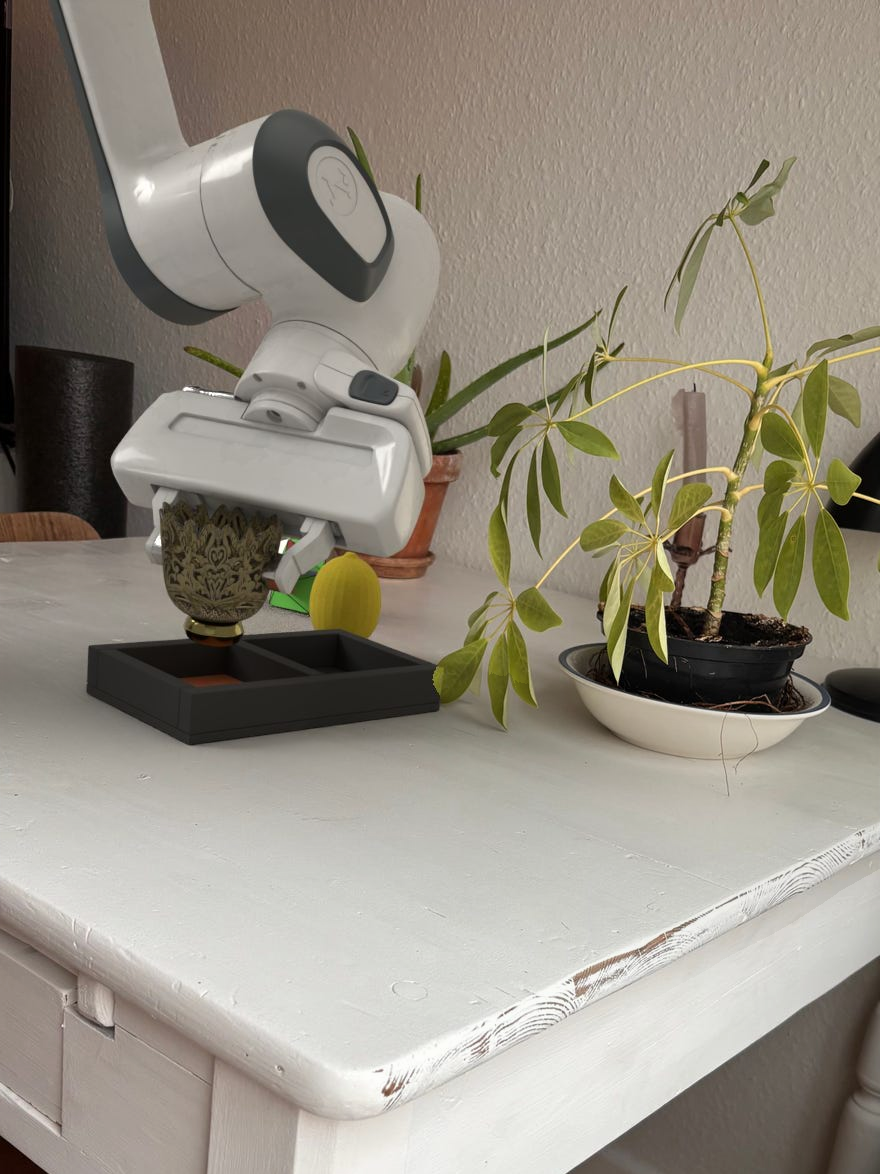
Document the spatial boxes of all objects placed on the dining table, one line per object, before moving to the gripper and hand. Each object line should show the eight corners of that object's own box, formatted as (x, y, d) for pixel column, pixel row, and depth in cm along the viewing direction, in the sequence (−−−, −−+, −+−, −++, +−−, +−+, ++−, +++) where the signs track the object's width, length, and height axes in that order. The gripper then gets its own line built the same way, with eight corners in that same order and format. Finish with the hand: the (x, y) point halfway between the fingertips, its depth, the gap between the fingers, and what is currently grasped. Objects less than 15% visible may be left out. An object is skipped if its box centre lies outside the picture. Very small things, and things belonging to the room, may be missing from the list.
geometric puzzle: (293, 570, 120) (272, 503, 113) (359, 585, 118) (342, 517, 111) (257, 624, 116) (234, 558, 109) (325, 640, 114) (305, 574, 107)
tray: (85, 692, 82) (87, 644, 81) (335, 668, 97) (339, 628, 96) (188, 745, 75) (192, 693, 74) (439, 710, 90) (445, 667, 89)
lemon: (317, 661, 98) (328, 556, 95) (296, 643, 102) (306, 542, 99) (384, 664, 100) (397, 561, 97) (361, 646, 105) (373, 547, 102)
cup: (267, 664, 78) (280, 530, 75) (143, 648, 77) (150, 512, 74) (276, 635, 85) (287, 511, 82) (162, 620, 84) (169, 494, 81)
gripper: (152, 345, 84) (51, 507, 79) (439, 394, 78) (351, 572, 73) (185, 417, 89) (94, 572, 84) (456, 468, 84) (375, 637, 79)
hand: (215, 573), depth 79 cm, fingers closed on cup, 7 cm apart
